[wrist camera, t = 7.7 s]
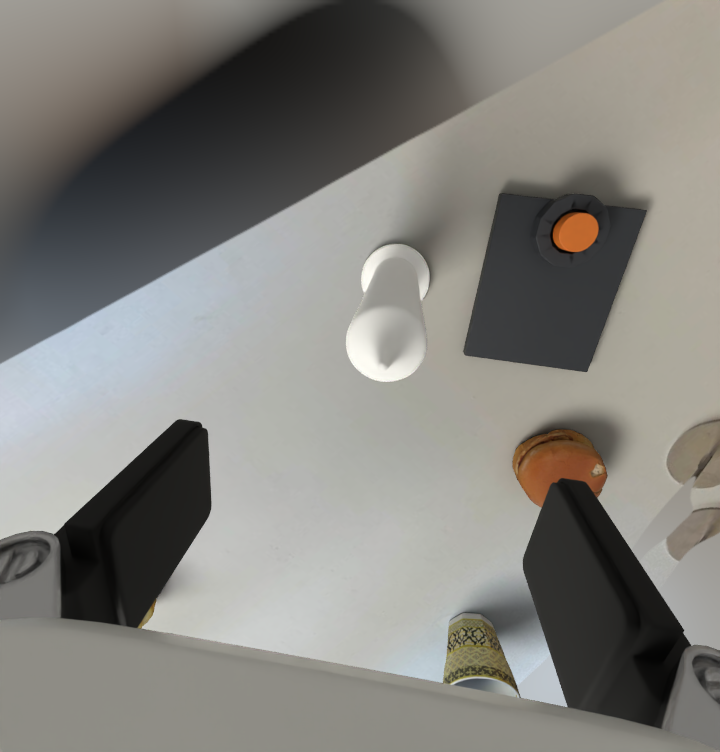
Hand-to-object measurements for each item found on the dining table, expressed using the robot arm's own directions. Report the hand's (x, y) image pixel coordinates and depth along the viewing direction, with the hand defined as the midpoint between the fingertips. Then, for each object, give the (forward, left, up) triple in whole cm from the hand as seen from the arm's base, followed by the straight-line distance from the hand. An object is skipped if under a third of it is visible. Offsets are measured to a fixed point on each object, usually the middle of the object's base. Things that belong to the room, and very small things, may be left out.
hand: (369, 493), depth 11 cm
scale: (-1, +15, -34) cm, 37 cm away
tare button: (-7, +15, -31) cm, 35 cm away
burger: (+19, +22, -34) cm, 45 cm away
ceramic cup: (+52, +18, -34) cm, 65 cm away
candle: (0, 0, -34) cm, 34 cm away
